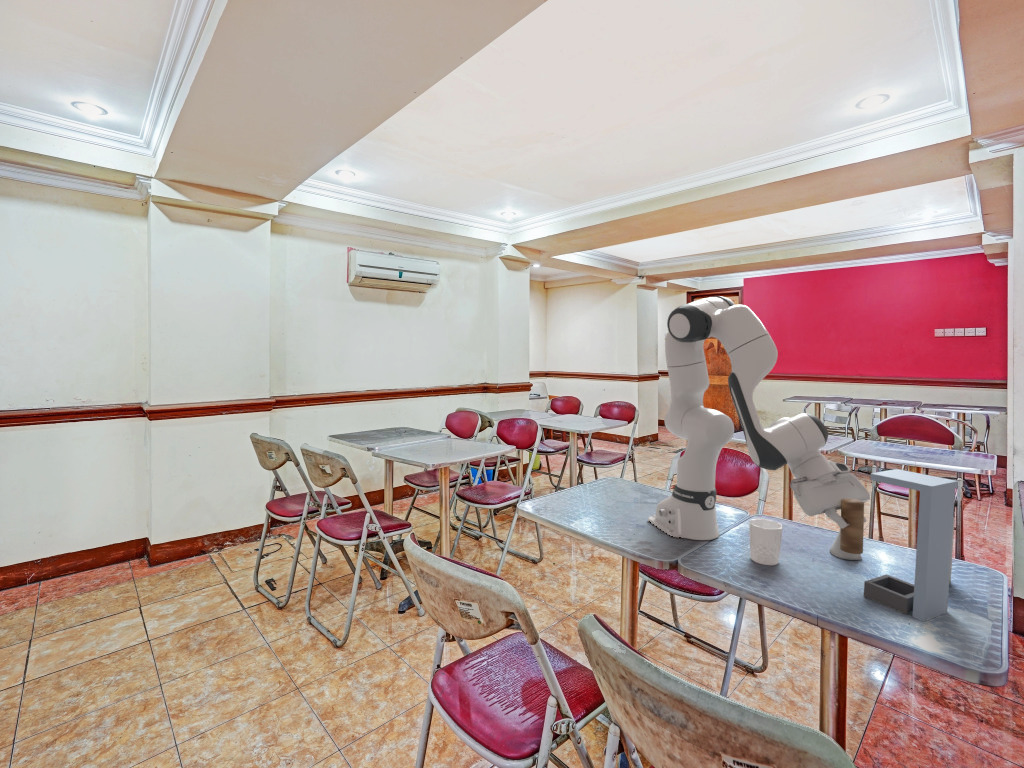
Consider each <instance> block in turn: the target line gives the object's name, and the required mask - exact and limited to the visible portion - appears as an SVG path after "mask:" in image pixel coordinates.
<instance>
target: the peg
mask: <svg viewBox="0 0 1024 768" xmlns="http://www.w3.org/2000/svg"><path fill="white" fill-rule="evenodd" d="M840 516H841V517H842V518H843V519H844V518H846V519H847V521H848V522H849V523H850V526H848V527H846V528H843V529H841V533H840V549H841V550H842V551H844V552H847V553H851V554H863V553H864V530H865V529H864V523H865V522H864V517H865V503H864V502H863V501H860V500H857V499H849V498H845V499H841V509H840Z"/></svg>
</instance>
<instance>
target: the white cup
mask: <svg viewBox="0 0 1024 768" xmlns="http://www.w3.org/2000/svg"><path fill="white" fill-rule="evenodd" d="M748 525H749V527H748V530H749V531H748V532H749V549H750V550H749V551H750V554H749V555H750V560H752V562H755V563H757V564H759V565H764V566H776V565H778V564H779V562H780V561H779V560H780V554H781V547H782V546H781V545H782V539H783V536H782V535H783V528H784V526H783V525H782V523H780V522H778V521H775V520H771V519H765V518H754V519H753V518H752V519H750V520H749V523H748Z"/></svg>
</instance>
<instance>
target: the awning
mask: <svg viewBox="0 0 1024 768" xmlns="http://www.w3.org/2000/svg"><path fill="white" fill-rule="evenodd" d="M870 481H874V482H879V483H882V484H887V485H891V486H897V487H901V488H904V489H905V488H906V489H908V490H914V491H918V492H919V499H918V500H919V501H918V502H919V504H918V505H919V506H918V516H917V517H918V519H917V520H918V522H917V534H916V535H917V538H916V551H915V552H916V554H915V566H914V567H915V572H914V600H913V612H912V617H913V618H915V619H917V620H919V621H922V622H926V621H929V620H931V619H933V618H935V617H938V616H941V615H943V614H946V613H948V606H949V605H948V604H949V591H950V584H949V578H950V562H951V547H952V531H953V516H954V513H955V512H954V503H955V501H956V500H955V498H956V497H955V496H956V489H958V488H959V480H954V479H950V478H945V477H940V476H933V475H929V474H924V473H919V472H914V471H909V470H903V469H898V468H895V469H894V468H893V469H890V470H883V471H878V472H877V471H876V472H872V473H870Z"/></svg>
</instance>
